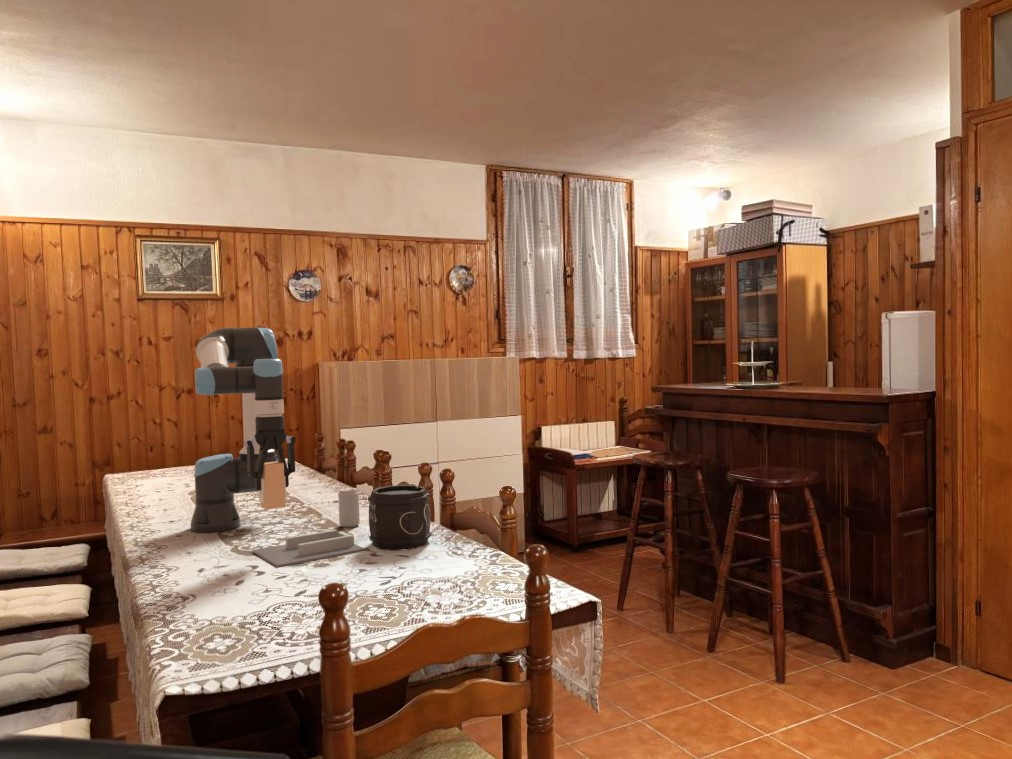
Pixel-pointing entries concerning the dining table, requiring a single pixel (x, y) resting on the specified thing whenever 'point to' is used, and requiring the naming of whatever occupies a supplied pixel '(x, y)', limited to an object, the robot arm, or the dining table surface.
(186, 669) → the dining table surface
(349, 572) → the dining table surface
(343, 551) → the end holder
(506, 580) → the dining table surface
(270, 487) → the block
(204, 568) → the dining table surface
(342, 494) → the beverage can
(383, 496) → the wooden barrel
